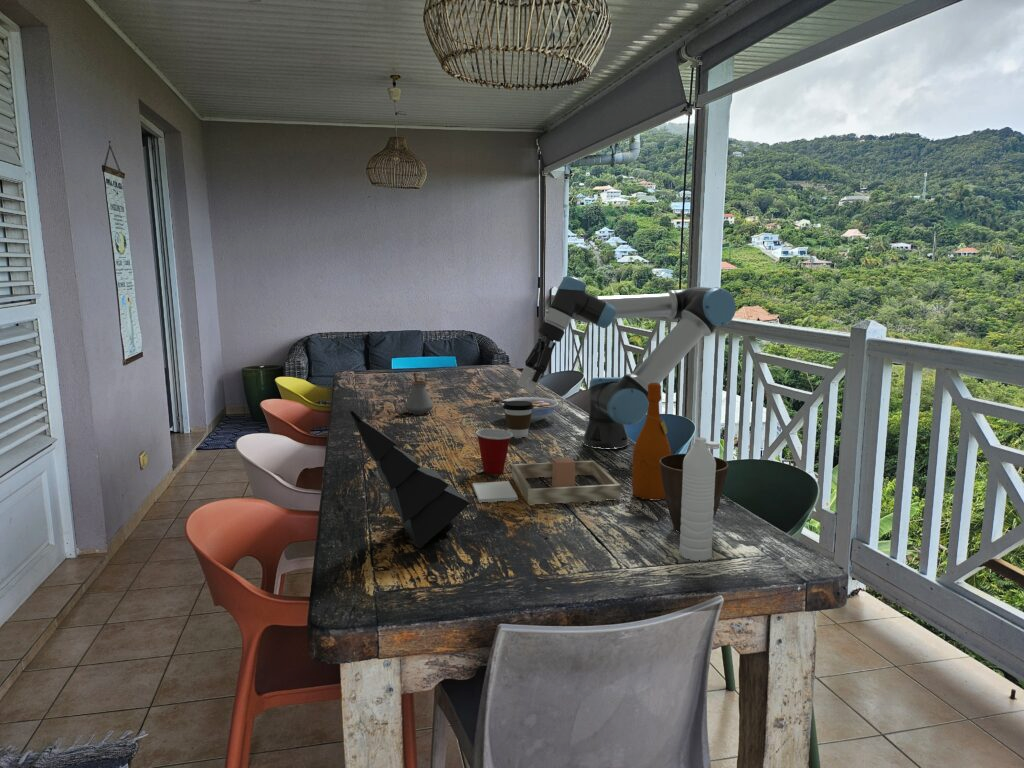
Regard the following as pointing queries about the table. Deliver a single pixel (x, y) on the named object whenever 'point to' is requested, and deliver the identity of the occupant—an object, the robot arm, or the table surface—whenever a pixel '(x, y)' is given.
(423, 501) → the decorative tree
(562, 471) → the block
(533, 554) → the table surface
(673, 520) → the plant pot
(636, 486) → the wine bottle
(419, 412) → the coffee pot
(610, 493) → the frame
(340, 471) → the table surface
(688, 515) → the water bottle
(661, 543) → the table surface
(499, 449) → the plastic cup
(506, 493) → the pad
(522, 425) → the coffee cup
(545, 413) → the ramen bowl
